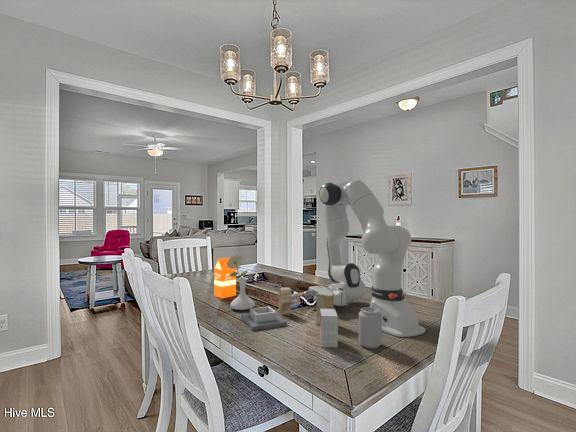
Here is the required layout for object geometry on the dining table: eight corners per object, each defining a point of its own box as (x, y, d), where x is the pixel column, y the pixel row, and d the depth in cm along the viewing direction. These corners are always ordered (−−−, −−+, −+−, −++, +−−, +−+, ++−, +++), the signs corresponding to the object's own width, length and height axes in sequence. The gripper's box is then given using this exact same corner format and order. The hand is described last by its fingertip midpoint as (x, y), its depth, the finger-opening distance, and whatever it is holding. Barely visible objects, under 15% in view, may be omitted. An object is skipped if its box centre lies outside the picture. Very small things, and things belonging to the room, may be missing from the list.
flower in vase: (252, 303, 151) (252, 252, 151) (257, 310, 140) (257, 255, 140) (224, 306, 147) (225, 253, 147) (228, 313, 136) (228, 256, 136)
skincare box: (315, 324, 124) (316, 293, 124) (318, 321, 128) (318, 291, 128) (331, 326, 121) (332, 295, 121) (334, 323, 126) (334, 292, 125)
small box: (319, 337, 111) (319, 308, 111) (335, 338, 111) (335, 308, 111) (320, 347, 103) (321, 315, 103) (337, 347, 103) (338, 316, 103)
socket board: (286, 325, 122) (286, 314, 122) (252, 330, 117) (252, 318, 117) (272, 313, 137) (272, 303, 137) (241, 317, 132) (241, 306, 131)
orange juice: (213, 295, 166) (214, 257, 166) (228, 292, 172) (228, 256, 172) (221, 298, 160) (221, 259, 160) (236, 295, 166) (236, 257, 166)
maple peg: (290, 314, 136) (290, 289, 136) (282, 315, 135) (282, 289, 134) (287, 311, 140) (287, 286, 140) (278, 312, 138) (278, 287, 138)
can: (379, 340, 108) (379, 306, 108) (383, 350, 101) (383, 313, 101) (357, 339, 109) (357, 305, 109) (359, 349, 102) (360, 312, 102)
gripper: (324, 281, 157) (299, 284, 151) (347, 291, 138) (319, 294, 133) (323, 294, 157) (299, 297, 152) (347, 305, 138) (319, 309, 133)
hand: (308, 296), depth 142 cm, fingers open, 8 cm apart
